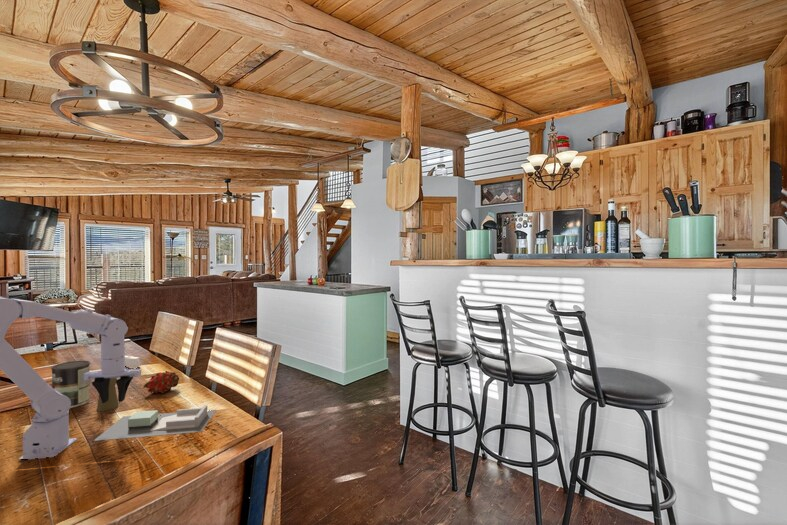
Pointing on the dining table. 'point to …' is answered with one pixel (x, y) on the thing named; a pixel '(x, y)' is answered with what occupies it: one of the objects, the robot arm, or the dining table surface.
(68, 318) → the robot arm
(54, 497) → the dining table surface
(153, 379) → the dragon fruit
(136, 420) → the cart
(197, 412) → the dock
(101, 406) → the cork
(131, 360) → the napkin holder
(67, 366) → the coffee can
